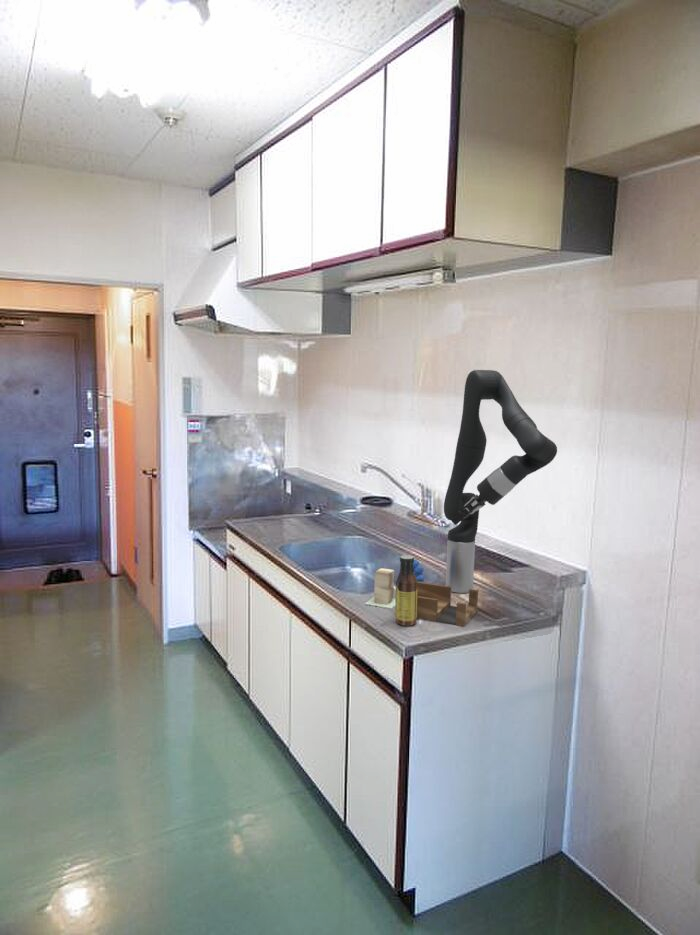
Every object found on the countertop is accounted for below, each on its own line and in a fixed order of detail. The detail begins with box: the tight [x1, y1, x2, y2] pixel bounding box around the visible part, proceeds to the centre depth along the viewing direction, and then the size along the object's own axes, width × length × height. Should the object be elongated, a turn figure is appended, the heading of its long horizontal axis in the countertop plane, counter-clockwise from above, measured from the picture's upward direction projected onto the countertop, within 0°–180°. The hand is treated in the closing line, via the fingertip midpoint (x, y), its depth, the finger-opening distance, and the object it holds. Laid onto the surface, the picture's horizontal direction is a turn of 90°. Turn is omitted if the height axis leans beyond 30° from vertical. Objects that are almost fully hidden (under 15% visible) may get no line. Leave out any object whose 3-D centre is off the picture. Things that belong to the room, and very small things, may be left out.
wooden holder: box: [416, 581, 479, 627], centre depth 202 cm, size 15×21×6 cm
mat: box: [364, 596, 396, 610], centre depth 211 cm, size 9×9×1 cm
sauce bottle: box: [394, 554, 417, 627], centre depth 192 cm, size 6×6×20 cm
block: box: [373, 567, 395, 605], centre depth 210 cm, size 5×4×10 cm
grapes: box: [413, 559, 425, 582], centre depth 221 cm, size 12×7×12 cm, turn 30°
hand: (456, 520), depth 200 cm, fingers open, 8 cm apart
